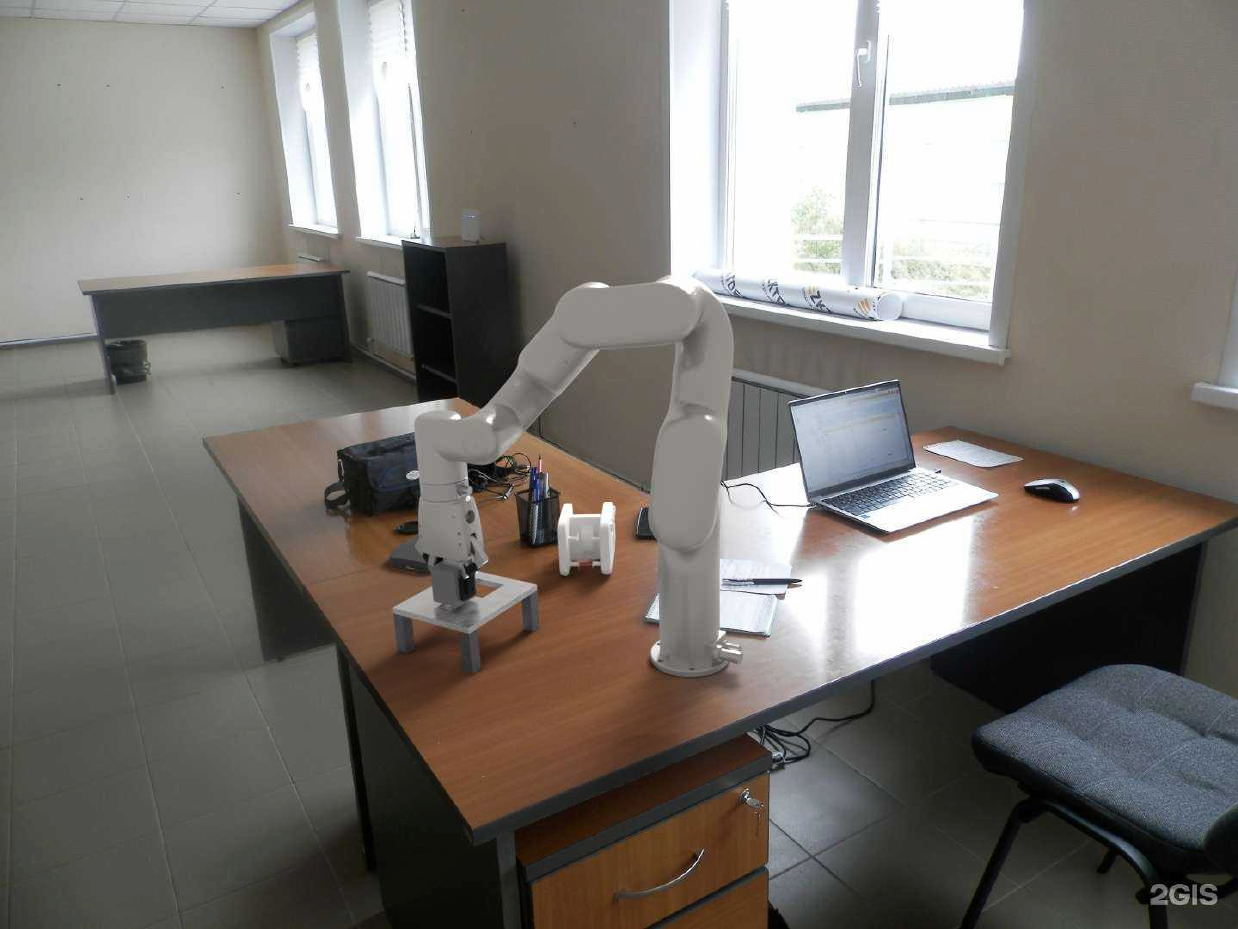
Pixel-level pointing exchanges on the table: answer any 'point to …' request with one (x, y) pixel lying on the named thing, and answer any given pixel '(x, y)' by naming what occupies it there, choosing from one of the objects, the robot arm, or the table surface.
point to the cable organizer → (586, 538)
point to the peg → (447, 583)
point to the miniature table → (467, 614)
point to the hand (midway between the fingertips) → (454, 593)
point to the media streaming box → (408, 557)
